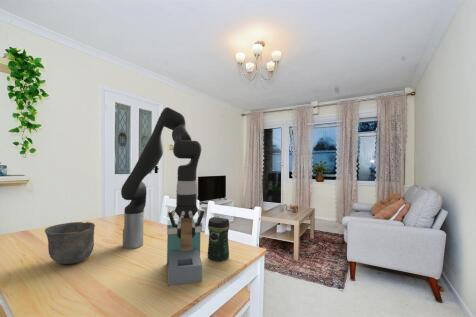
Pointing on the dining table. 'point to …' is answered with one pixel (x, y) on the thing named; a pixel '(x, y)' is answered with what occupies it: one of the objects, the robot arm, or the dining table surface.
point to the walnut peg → (186, 234)
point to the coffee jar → (218, 239)
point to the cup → (70, 241)
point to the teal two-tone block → (175, 242)
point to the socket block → (184, 267)
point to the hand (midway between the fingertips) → (186, 237)
